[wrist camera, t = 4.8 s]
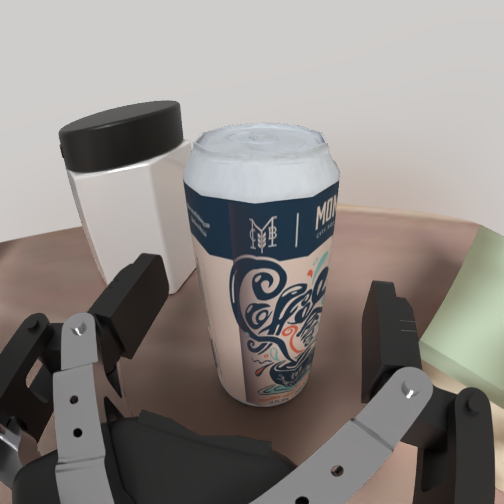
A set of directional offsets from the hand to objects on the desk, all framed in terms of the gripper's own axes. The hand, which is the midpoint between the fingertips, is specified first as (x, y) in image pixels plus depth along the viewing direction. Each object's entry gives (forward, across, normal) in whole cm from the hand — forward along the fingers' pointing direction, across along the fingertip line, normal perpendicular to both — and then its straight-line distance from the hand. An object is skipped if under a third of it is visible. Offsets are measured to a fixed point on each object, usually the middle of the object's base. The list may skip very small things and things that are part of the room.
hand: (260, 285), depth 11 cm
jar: (+8, +11, +7) cm, 15 cm away
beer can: (0, 0, +7) cm, 7 cm away
